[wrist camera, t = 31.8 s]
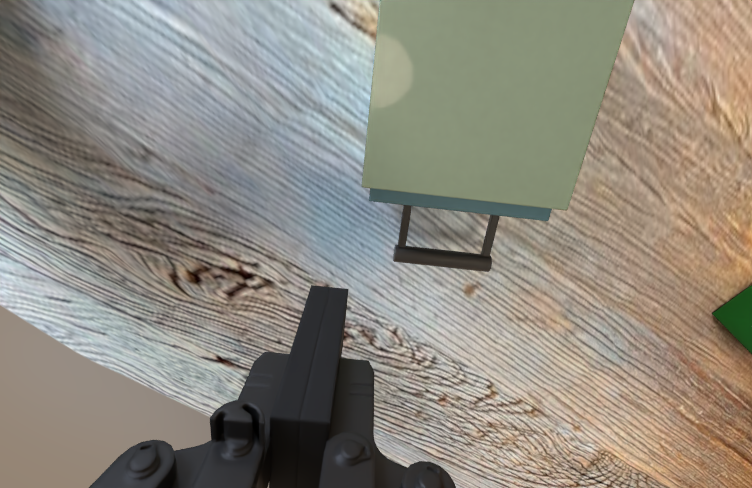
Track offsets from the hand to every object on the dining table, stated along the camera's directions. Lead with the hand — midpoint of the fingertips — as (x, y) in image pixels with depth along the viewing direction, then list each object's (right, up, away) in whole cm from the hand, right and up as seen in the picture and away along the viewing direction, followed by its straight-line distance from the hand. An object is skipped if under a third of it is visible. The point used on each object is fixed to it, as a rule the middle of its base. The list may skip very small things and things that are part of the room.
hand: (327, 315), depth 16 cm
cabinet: (+9, +18, +17) cm, 26 cm away
